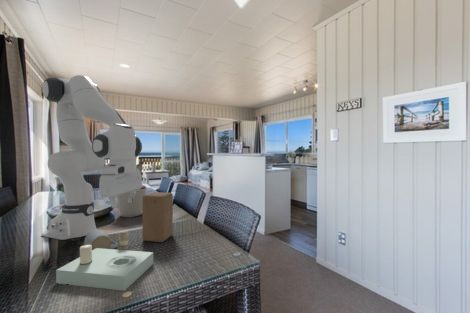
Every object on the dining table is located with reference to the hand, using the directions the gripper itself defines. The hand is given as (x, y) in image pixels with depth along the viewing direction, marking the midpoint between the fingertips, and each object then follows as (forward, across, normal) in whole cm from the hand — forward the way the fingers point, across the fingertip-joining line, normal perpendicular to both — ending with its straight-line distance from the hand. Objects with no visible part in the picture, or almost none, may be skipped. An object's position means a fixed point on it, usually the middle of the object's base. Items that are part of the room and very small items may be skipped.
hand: (123, 204), depth 87 cm
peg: (+19, 0, 0) cm, 19 cm away
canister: (+19, -52, -30) cm, 63 cm away
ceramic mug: (+19, -4, -12) cm, 23 cm away
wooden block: (+19, -19, +4) cm, 27 cm away
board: (+19, +12, +3) cm, 23 cm away
